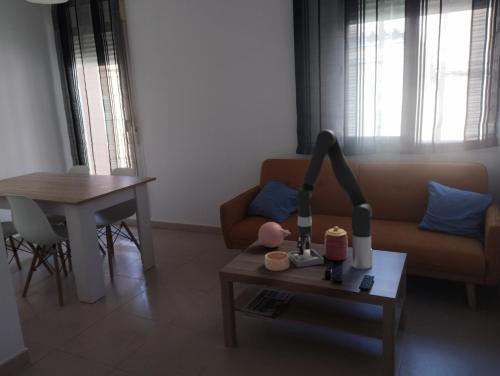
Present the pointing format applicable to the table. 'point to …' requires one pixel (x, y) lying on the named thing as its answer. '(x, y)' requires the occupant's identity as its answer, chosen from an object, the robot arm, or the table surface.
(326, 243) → the canister
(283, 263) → the terracotta bowl
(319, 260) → the parts tray
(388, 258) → the table surface
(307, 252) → the pale stone
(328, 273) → the black bracket
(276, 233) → the balloon
